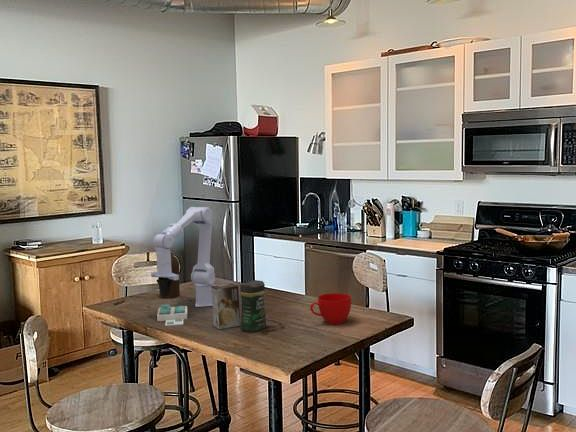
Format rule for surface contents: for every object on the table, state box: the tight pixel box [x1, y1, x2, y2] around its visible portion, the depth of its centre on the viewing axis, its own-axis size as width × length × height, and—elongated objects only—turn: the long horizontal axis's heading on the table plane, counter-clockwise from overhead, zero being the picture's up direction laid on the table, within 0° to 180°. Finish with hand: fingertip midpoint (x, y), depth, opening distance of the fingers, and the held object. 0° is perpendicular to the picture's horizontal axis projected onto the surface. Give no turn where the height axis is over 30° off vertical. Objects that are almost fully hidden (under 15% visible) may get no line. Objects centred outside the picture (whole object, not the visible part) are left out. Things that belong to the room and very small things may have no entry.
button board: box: [156, 305, 188, 322], centre depth 248 cm, size 12×12×2 cm
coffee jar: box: [239, 279, 267, 333], centre depth 226 cm, size 10×8×19 cm
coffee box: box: [211, 282, 241, 330], centre depth 231 cm, size 9×6×16 cm
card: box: [164, 319, 184, 327], centre depth 239 cm, size 7×7×1 cm
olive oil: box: [157, 247, 181, 300], centre depth 283 cm, size 11×11×25 cm
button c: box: [160, 303, 171, 310], centre depth 250 cm, size 4×4×2 cm
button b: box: [174, 305, 184, 314], centre depth 245 cm, size 4×4×2 cm
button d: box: [160, 307, 170, 315], centre depth 245 cm, size 4×4×2 cm
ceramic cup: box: [309, 292, 352, 325], centre depth 231 cm, size 13×17×10 cm
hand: (165, 295), depth 245 cm, fingers closed
